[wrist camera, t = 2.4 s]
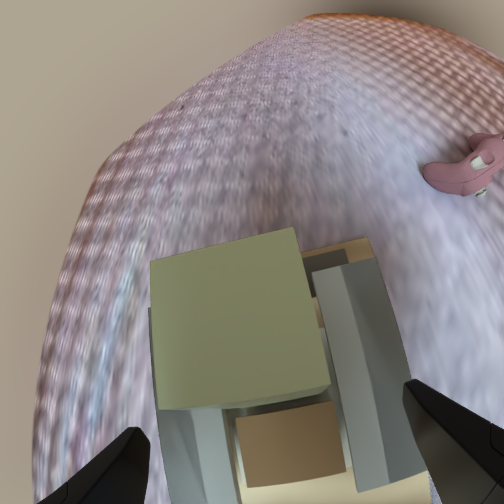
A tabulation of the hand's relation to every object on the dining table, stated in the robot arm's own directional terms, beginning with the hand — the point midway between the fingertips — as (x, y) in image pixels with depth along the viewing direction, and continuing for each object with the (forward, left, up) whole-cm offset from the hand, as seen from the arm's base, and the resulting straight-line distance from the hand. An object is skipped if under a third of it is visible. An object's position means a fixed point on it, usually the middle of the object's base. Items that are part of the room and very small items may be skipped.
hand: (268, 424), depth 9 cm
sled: (0, 0, -10) cm, 10 cm away
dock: (+1, +1, -10) cm, 10 cm away
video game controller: (+23, -11, -11) cm, 28 cm away
